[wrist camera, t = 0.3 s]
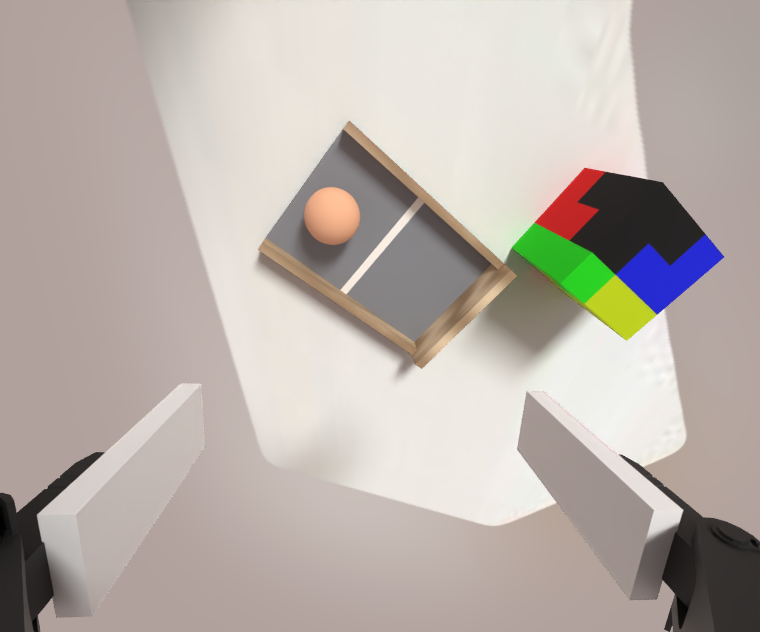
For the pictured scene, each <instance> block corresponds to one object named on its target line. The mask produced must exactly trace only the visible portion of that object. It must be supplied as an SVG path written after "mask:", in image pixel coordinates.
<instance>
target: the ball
mask: <svg viewBox="0 0 760 632" xmlns="http://www.w3.org/2000/svg"><path fill="white" fill-rule="evenodd" d="M304 220H305V224H306V227H307V229H308V231H309V232H310V233H311V235H312V236H313V237H314V238H315V239H317V240H318V241H320V242H322V243H325V244H329V245H337V244H341V243H344V242H346V241H348V240H349V239H350V238H351V237H352V236H353V235H354V234H355V233H356V231H357V229H358V227H359V223H360V211H359V207H358V205H357V203H356V201H355V199H354V198H353V197H352V196H351V195H350V194H349V193H348V192H346V191H344V190H342V189H340V188H335V187H327V188H323V189H320V190H318V191H317V192H315V193H314V194H313V195H312V196H311V197H310V198H309V200H308V201H307V204H306V206H305V211H304Z"/></svg>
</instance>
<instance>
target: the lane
mask: <svg viewBox="0 0 760 632" xmlns="http://www.w3.org/2000/svg"><path fill="white" fill-rule="evenodd" d="M348 122H349V121H348ZM327 187H335V188H340V189H342V190H344V191H346V192H348V193H349V194H350V195H351V196H352V197H353V198H354V199H355V201H356V203H357V205H358V207H359V211H360V223H359V227H358V229H357V231H356V233H355V234H354V235H353V236H352V237H351V238H350V239H349V240H348V241H346V242H344V243H341V244H337V245H329V244H325V243H322V242H320V241H318V240H317V239H315V238H314V237H313V236H312V235H311V233H310V232H309V231H308V229H307V227H306V224H305V220H304V211H305V206H306V204H307V201H308V200H309V198H310V197H311V196H312V195H313V194H314V193H315V192H317V191H318V190H320V189H323V188H327ZM266 238H267V239H268V240H270V241H271V242H273V243H274V244H275V245H277V246H278V247H280V248H281V249H283V250H284V251H285V252H287V253H288V254H290V255H291V256H292V257H294V258H295V259H297V260H298V261H300V262H301V263H302V264H304V265H305V266H307V267H308V268H310V269H311V270H312V271H314V272H315V273H317V274H318V275H320V276H321V277H322V278H324V279H325V280H327V281H328V282H330V283H331V284H332V285H334V286H335V287H337V288H338V289H340V290H341V291H342V292H344V293H345V294H347V295H348V296H349V297H351V298H352V299H354V300H355V301H357V302H358V303H359V304H361V305H362V306H364V307H365V308H367V309H368V310H369V311H371V312H372V313H374V314H375V315H377V316H378V317H379V318H381V319H382V320H384V321H385V322H387V323H388V324H389V325H391V326H392V327H394V328H395V329H396V330H398V331H399V332H401V333H402V334H404V335H405V336H406V337H408V338H409V339H411V340H412V341H414V342H415V341H416V340H417V339H418V338H419V337H420V336H421V335H422V334H423V333H424V332H425V331H426V330H427V329H428V328H429V327H430V326H431V325H432V324H433V323H434V322H435V321H436V320H437V319H438V318H439V317H440V316H441V315H442V314H443V313H444V312H445V311H446V310H447V309H448V308H449V306H450V305H451V304H452V303H453V302H454V301H455V300H456V299H457V298H458V297H459V296H460V295H461V294H462V293H463V292H464V291H465V290H466V289H467V288H468V287H469V286H470V285H471V284H472V283H473V282H474V281H475V280H476V279H477V278H478V277H479V276H480V275H481V274H482V273H483V272H484V271H485V270H486V269H487V268H488V267H489V266H490V265H491V264H492V263H490V262H489V261H488V260H487V259H486V258H485V257H484V256H483V255H482V254H481V253H479V252H478V251H477V250H476V249H475V248H474V247H473V246H472V245H471V244H470V243H468V242H467V241H466V240H465V239H464V238H463V237H462V236H461V235H460V234H458V233H457V232H456V231H455V230H454V229H453V228H452V227H451V226H450V225H449V224H447V223H446V222H445V221H444V220H443V219H442V218H441V217H440V216H439V215H438V214H436V213H435V212H434V211H433V210H432V209H431V208H430V207H429V206H428V205H427V204H425V203H424V202H423V201H422V200H421V199H420V198H419V197H418V196H417V195H415V194H414V193H413V192H412V191H411V190H410V189H409V188H408V187H407V186H406V185H404V184H403V183H402V182H401V181H400V180H399V179H398V178H397V177H396V176H395V175H393V174H392V173H391V172H390V171H389V170H388V169H387V168H386V167H385V166H384V165H382V164H381V163H380V162H379V161H378V160H377V159H376V158H375V157H374V156H372V155H371V154H370V153H369V152H368V151H367V150H366V149H365V148H364V147H363V146H361V145H360V144H359V143H358V142H357V141H356V140H355V139H354V138H353V137H352V136H350V135H349V134H348V133H347V132H346V131H345V130H344V129H343V130H342V131H341V133H340V134H339V136H338V137H337V138H336V140H335V141H334V143H333V144H332V145H331V147H330V148H329V150H328V151H327V152H326V154H325V155H324V157H323V158H322V159H321V161H320V162H319V164H318V165H317V167H316V168H315V169H314V171H313V172H312V174H311V175H310V176H309V178H308V179H307V181H306V182H305V183H304V185H303V186H302V188H301V189H300V190H299V192H298V193H297V195H296V196H295V197H294V199H293V200H292V202H291V203H290V205H289V206H288V207H287V209H286V210H285V212H284V213H283V214H282V216H281V217H280V219H279V220H278V221H277V223H276V224H275V226H274V227H273V228H272V230H271V231H270V233H269V234H268V235H267V237H266Z"/></svg>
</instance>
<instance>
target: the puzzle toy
mask: <svg viewBox="0 0 760 632" xmlns="http://www.w3.org/2000/svg"><path fill="white" fill-rule="evenodd" d="M512 248H513V249H514V250H515V251H516V252H517V253H518V254H520V255H521V256H522V257H523V258H524V259H525V260H527V261H528V262H529V263H530V264H531V265H532V266H534V267H535V268H536V269H537V270H538V271H540V272H541V273H542V274H543V275H544V276H545V277H547V278H548V279H549V280H550V281H551V282H552V283H554V284H555V285H556V286H557V287H558V288H559V289H561V290H562V291H563V292H564V293H565V294H566V295H568V296H569V297H570V298H571V299H573V300H574V301H575V302H577V303H578V304H579V305H581V306H582V307H583V308H585V309H586V310H587V311H588V312H590V313H591V314H592V315H594V316H595V317H596V318H598V319H599V320H600V321H602V322H603V323H604V324H605V325H607V326H608V327H609V328H611V329H612V330H613V331H615V332H616V333H617V334H619V335H620V336H621V337H622V338H624V339H625V340H626V341H627V340H628V339H629V338H631V337H632V336H633V335H634V334H635V333H636V332H638V331H639V330H640V329H641V328H642V327H643V326H645V325H646V324H647V323H648V322H649V321H650V320H652V319H653V318H654V317H655V316H656V315H657V314H659V313H660V312H661V311H662V310H663V309H664V308H666V307H667V306H668V305H669V304H670V303H671V302H673V301H674V300H675V299H676V298H677V297H678V296H680V295H681V294H682V293H683V292H684V291H685V290H687V289H688V288H689V287H690V286H691V285H692V284H694V283H695V282H696V281H697V280H698V279H699V278H700V277H702V276H703V275H704V274H705V273H706V272H707V271H709V270H710V269H711V268H712V267H713V266H714V265H716V264H717V263H718V262H719V261H720V260H721V259H723V258H724V256H723V255H722V254H721V252H720V251H719V250H718V249H717V248H716V247H715V245H714V244H713V243H712V242H711V240H710V239H709V238H708V237H707V235H706V234H705V233H704V232H703V231H702V230H701V228H700V227H699V226H698V225H697V223H696V222H695V221H694V220H693V219H692V217H691V216H690V215H689V214H688V212H687V211H686V210H685V209H684V208H683V207H682V205H681V204H680V203H679V202H678V200H677V199H676V198H675V197H674V196H673V194H672V193H671V192H670V191H669V189H668V188H667V187H666V186H665V185H664V183H663V182H658V181H653V180H647V179H642V178H637V177H631V176H626V175H620V174H615V173H610V172H604V171H599V170H593V169H588V168H584V169H583V170H582V172H581V173H580V174H579V175H578V176H577V177H576V178H575V179H574V180H573V181H572V182H571V184H570V185H569V186H568V187H567V188H566V189H565V190H564V191H563V192H562V193H561V194H560V196H559V197H558V198H557V199H556V200H555V201H554V202H553V203H552V204H551V205H550V206H549V208H548V209H547V210H546V211H545V212H544V213H543V214H542V215H541V216H540V217H539V218H538V220H537V221H536V222H535V223H534V224H533V225H532V226H531V227H530V228H529V229H528V231H527V232H526V233H525V234H524V235H523V236H522V237H521V238H520V239H519V240H518V241H517V243H516V244H515V245H514V246H513V247H512Z"/></svg>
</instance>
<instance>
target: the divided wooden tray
mask: <svg viewBox="0 0 760 632" xmlns="http://www.w3.org/2000/svg"><path fill="white" fill-rule="evenodd" d="M344 130H345V131H346V132H347V133H348V134H349V135H350V136H352V137H353V138H354V139H355V140H356V141H357V142H358V143H359V144H360V145H361V146H363V147H364V148H365V149H366V150H367V151H368V152H369V153H370V154H371V155H372V156H374V157H375V158H376V159H377V160H378V161H379V162H380V163H381V164H382V165H384V166H385V167H386V168H387V169H388V170H389V171H390V172H391V173H392V174H393V175H395V176H396V177H397V178H398V179H399V180H400V181H401V182H402V183H403V184H404V185H406V186H407V187H408V188H409V189H410V190H411V191H412V192H413V193H414V194H415V195H417V196H418V197H419V198H420V199H421V200H422V201H423V202H424V203H425V204H427V205H428V206H429V207H430V208H431V209H432V210H433V211H434V212H435V213H436V214H438V215H439V216H440V217H441V218H442V219H443V220H444V221H445V222H446V223H447V224H449V225H450V226H451V227H452V228H453V229H454V230H455V231H456V232H457V233H458V234H460V235H461V236H462V237H463V238H464V239H465V240H466V241H467V242H468V243H470V244H471V245H472V246H473V247H474V248H475V249H476V250H477V251H478V252H479V253H481V254H482V255H483V256H484V257H485V258H486V259H487V260H488V261H489V262H490V263H492V264H491V265H490V266H489V267H488V268H487V269H486V270H485V271H484V272H483V273H482V274H481V275H480V276H479V277H478V278H477V279H476V280H475V281H474V282H473V283H472V284H471V285H470V286H469V287H468V288H467V289H466V290H465V291H464V292H463V293H462V294H461V295H460V296H459V297H458V298H457V299H456V300H455V301H454V302H453V303H452V304H451V305H450V306H449V308H448V309H447V310H446V311H445V312H444V313H443V314H442V315H441V316H440V317H439V318H438V319H437V320H436V321H435V322H434V323H433V324H432V325H431V326H430V327H429V328H428V329H427V330H426V331H425V332H424V333H423V334H422V335H421V336H420V337H419V338H418V339H417V340H416V341H415V342H414V341H412V340H411V339H409V338H408V337H406V336H405V335H404V334H402V333H401V332H399V331H398V330H396V329H395V328H394V327H392V326H391V325H389V324H388V323H387V322H385V321H384V320H382V319H381V318H379V317H378V316H377V315H375V314H374V313H372V312H371V311H369V310H368V309H367V308H365V307H364V306H362V305H361V304H359V303H358V302H357V301H355V300H354V299H352V298H351V297H349V296H348V295H347V294H345V293H344V292H342V291H341V290H340V289H338V288H337V287H335V286H334V285H332V284H331V283H330V282H328V281H327V280H325V279H324V278H322V277H321V276H320V275H318V274H317V273H315V272H314V271H312V270H311V269H310V268H308V267H307V266H305V265H304V264H302V263H301V262H300V261H298V260H297V259H295V258H294V257H292V256H291V255H290V254H288V253H287V252H285V251H284V250H283V249H281V248H280V247H278V246H277V245H275V244H274V243H273V242H271V241H270V240H268V239H267V238H265V240H264V241H263V243H262V244H261V246H260V247H259V249H258V250H259V251H260V252H262V253H263V254H265V255H266V256H268V257H269V258H271V259H272V260H274V261H275V262H277V263H278V264H279V265H281V266H282V267H284V268H285V269H287V270H288V271H290V272H291V273H293V274H294V275H296V276H297V277H299V278H300V279H301V280H303V281H304V282H306V283H307V284H309V285H310V286H312V287H313V288H315V289H316V290H318V291H319V292H321V293H322V294H323V295H325V296H326V297H328V298H329V299H331V300H332V301H334V302H335V303H337V304H338V305H340V306H341V307H343V308H344V309H345V310H347V311H348V312H350V313H351V314H353V315H354V316H356V317H357V318H359V319H360V320H362V321H363V322H365V323H366V324H367V325H369V326H370V327H372V328H373V329H375V330H376V331H378V332H379V333H381V334H382V335H384V336H385V337H387V338H388V339H389V340H391V341H392V342H394V343H395V344H397V345H398V346H400V347H401V348H403V349H404V350H406V351H407V352H408V353H410V354H411V355H413V359H414V362H415V365H417V366H418V367H420V368H421V369H422V368H423V367H424V366H425V365H426V364H427V363H428V362H429V361H430V360H431V359H432V358H433V357H435V356H436V355H437V354H438V353H439V352H440V351H441V350H442V349H443V348H444V347H445V346H446V345H447V344H448V343H449V342H450V341H451V340H452V339H453V338H454V337H455V336H456V335H457V334H458V333H459V332H460V331H461V330H462V329H463V328H464V327H465V326H466V325H467V324H468V323H469V322H471V321H472V320H473V319H474V318H475V317H476V316H477V315H478V314H479V313H480V312H481V311H482V310H483V309H484V308H485V307H486V306H487V305H488V304H489V303H490V302H491V301H492V300H493V299H494V298H495V297H496V296H497V295H498V294H499V293H500V292H501V291H502V290H503V289H504V288H505V287H507V286H508V285H509V284H510V283H511V282H512V281H513V280H514V279H515V278H516V277H517V275H516V274H515V273H514V272H513V271H512V270H511V269H509V268H508V267H507V266H506V265H505V264H504V263H503V262H502V261H501V260H499V259H498V258H497V257H496V256H495V255H494V254H493V253H492V252H491V251H490V250H489V249H488V248H486V247H485V246H484V245H483V244H482V243H481V242H480V241H479V240H478V239H477V238H476V237H475V236H473V235H472V234H471V233H470V232H469V231H468V230H467V229H466V228H465V227H464V226H463V225H462V224H460V223H459V222H458V221H457V220H456V219H455V218H454V217H453V216H452V215H451V214H450V213H449V212H447V211H446V210H445V209H444V208H443V207H442V206H441V205H440V204H439V203H438V202H437V201H436V200H435V199H433V198H432V197H431V196H430V195H429V194H428V193H427V192H426V191H425V190H424V189H423V188H422V187H420V186H419V185H418V184H417V183H416V182H415V181H414V180H413V179H412V178H411V177H410V176H409V175H407V174H406V173H405V172H404V171H403V170H402V169H401V168H400V167H399V166H398V165H397V164H396V163H394V162H393V161H392V160H391V159H390V158H389V157H388V156H387V155H386V154H385V153H384V152H383V151H382V150H380V149H379V148H378V147H377V146H376V145H375V144H374V143H373V142H372V141H371V140H370V139H369V138H367V137H366V136H365V135H364V134H363V133H362V132H361V131H360V130H359V129H358V128H357V127H356V126H354V125H353V124H352V123H351V122H350V121H349V122H348V123H347V124H346V126H345V127H344Z"/></svg>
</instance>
